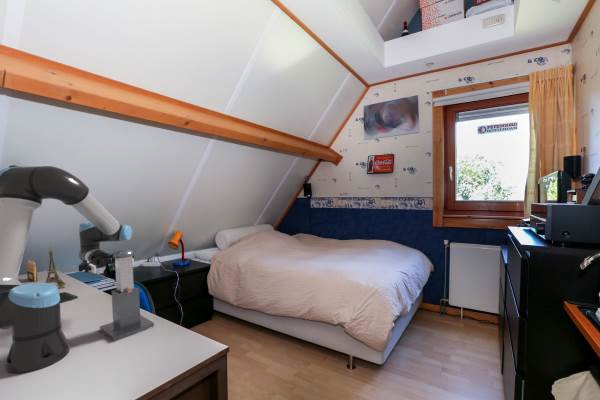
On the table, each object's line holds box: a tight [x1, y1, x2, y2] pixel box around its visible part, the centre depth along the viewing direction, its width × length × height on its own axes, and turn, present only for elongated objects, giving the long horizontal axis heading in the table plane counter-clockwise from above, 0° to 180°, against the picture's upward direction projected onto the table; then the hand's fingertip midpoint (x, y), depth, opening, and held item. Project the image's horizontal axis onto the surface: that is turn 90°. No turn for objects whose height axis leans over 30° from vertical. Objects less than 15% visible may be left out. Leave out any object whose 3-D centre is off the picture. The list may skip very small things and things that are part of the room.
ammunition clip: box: [26, 259, 38, 283], centre depth 181 cm, size 11×2×12 cm, turn 57°
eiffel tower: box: [44, 243, 67, 290], centre depth 165 cm, size 11×11×25 cm
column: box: [113, 249, 135, 293], centre depth 113 cm, size 6×6×28 cm
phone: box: [59, 291, 78, 304], centre depth 149 cm, size 8×1×15 cm
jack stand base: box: [99, 286, 155, 342], centre depth 114 cm, size 14×14×16 cm
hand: (114, 265), depth 119 cm, fingers open, 13 cm apart
